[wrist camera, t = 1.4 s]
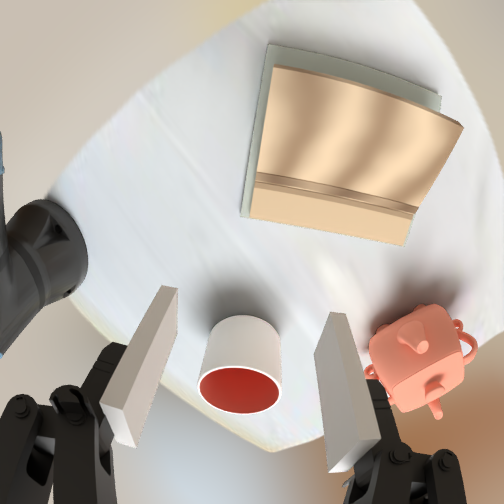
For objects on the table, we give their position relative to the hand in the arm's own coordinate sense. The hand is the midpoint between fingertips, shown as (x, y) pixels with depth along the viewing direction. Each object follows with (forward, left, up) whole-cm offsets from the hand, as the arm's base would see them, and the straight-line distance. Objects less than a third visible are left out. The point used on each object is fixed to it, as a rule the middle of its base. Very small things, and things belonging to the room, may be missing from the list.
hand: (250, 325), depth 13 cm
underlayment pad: (+8, +7, -21) cm, 24 cm away
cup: (+1, -20, -21) cm, 29 cm away
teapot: (+25, -16, -21) cm, 37 cm away
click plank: (+8, +8, -17) cm, 21 cm away
